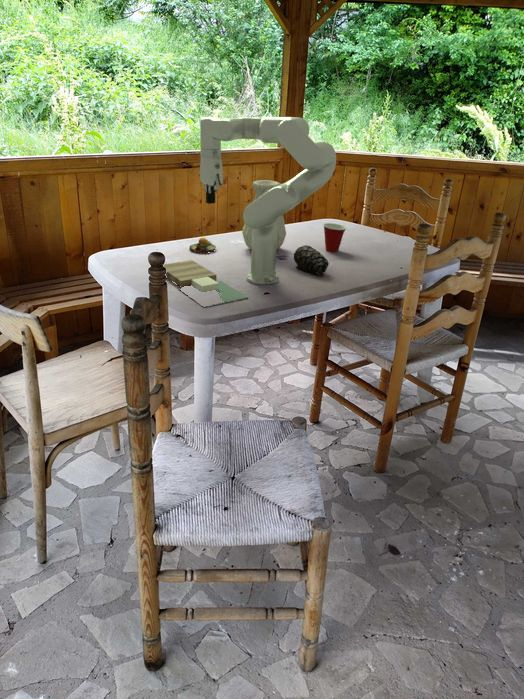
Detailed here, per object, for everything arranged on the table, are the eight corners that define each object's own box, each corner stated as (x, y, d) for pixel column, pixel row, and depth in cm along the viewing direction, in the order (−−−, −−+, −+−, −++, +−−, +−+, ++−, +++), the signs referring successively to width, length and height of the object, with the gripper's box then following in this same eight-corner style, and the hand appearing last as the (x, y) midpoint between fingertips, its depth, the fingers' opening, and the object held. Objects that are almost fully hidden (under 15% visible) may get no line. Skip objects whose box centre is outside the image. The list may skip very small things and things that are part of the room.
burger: (216, 247, 255) (216, 231, 252) (215, 254, 245) (215, 238, 241) (190, 246, 254) (190, 230, 251) (188, 254, 244) (188, 237, 241)
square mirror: (247, 298, 199) (247, 297, 199) (204, 307, 190) (204, 306, 190) (221, 282, 213) (221, 281, 213) (179, 290, 204) (179, 288, 204)
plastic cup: (348, 253, 254) (351, 227, 248) (327, 255, 250) (330, 229, 245) (337, 246, 263) (339, 221, 257) (316, 248, 259) (319, 222, 254)
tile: (218, 289, 205) (218, 283, 204) (202, 292, 201) (202, 286, 200) (207, 282, 211) (207, 276, 209) (191, 285, 207) (191, 279, 206)
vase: (232, 247, 254) (233, 180, 240) (265, 241, 266) (268, 176, 253) (261, 259, 241) (264, 188, 227) (294, 251, 253) (298, 184, 240)
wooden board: (216, 282, 213) (216, 274, 212) (181, 288, 205) (181, 281, 204) (192, 267, 228) (191, 260, 226) (158, 272, 220) (158, 265, 219)
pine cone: (319, 279, 221) (322, 255, 216) (288, 267, 232) (289, 244, 228) (336, 274, 227) (339, 250, 223) (304, 263, 239) (306, 240, 234)
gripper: (230, 155, 202) (229, 206, 210) (209, 150, 212) (209, 198, 221) (212, 156, 198) (212, 208, 206) (191, 150, 208) (192, 200, 217)
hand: (210, 202), depth 213 cm, fingers closed
